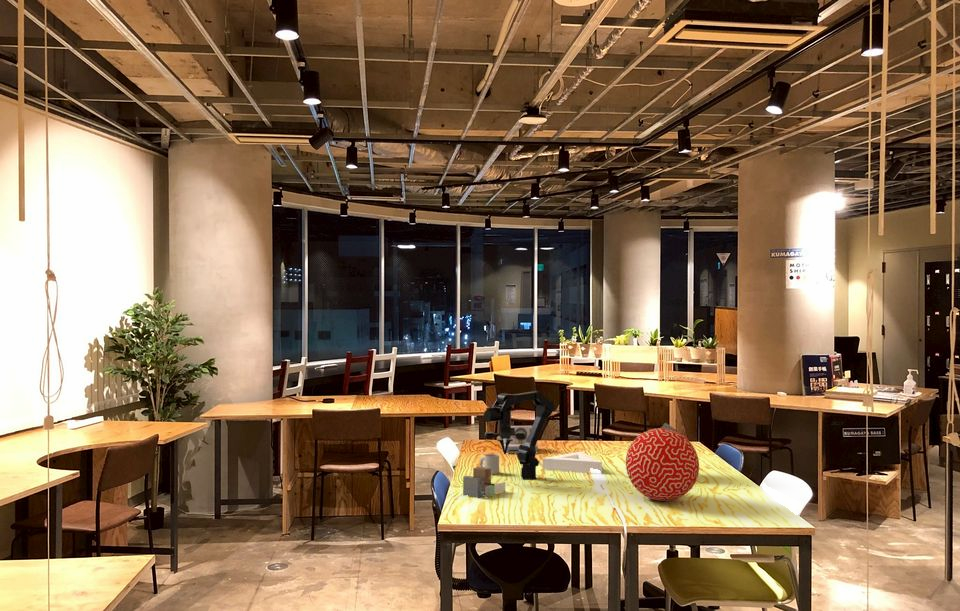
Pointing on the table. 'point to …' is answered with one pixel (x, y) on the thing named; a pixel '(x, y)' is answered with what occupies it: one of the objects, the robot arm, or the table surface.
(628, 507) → the table surface
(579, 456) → the triangular ruler
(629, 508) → the table surface
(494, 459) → the cup
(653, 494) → the ball
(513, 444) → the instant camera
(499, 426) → the robot arm
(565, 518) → the table surface
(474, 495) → the grey square slab
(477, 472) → the gauge carriage
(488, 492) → the gauge base
